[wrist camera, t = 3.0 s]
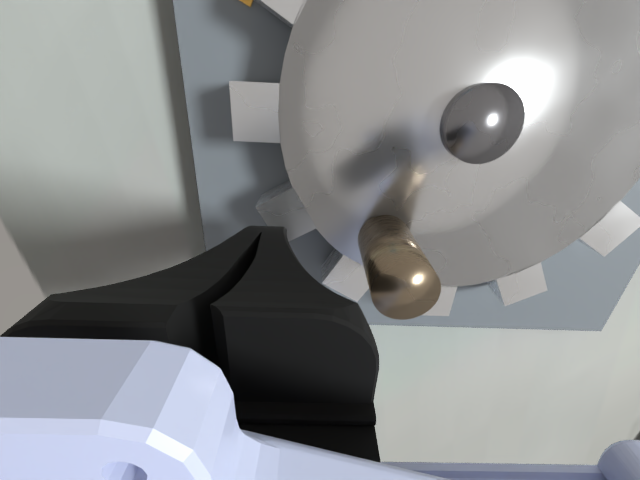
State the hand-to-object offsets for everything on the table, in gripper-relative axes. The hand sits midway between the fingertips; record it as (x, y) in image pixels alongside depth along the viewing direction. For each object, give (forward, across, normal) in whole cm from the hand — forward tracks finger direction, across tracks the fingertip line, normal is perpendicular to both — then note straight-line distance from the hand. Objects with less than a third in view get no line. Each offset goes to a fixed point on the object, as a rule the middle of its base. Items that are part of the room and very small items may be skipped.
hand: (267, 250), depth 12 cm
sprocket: (+2, -7, -5) cm, 9 cm away
